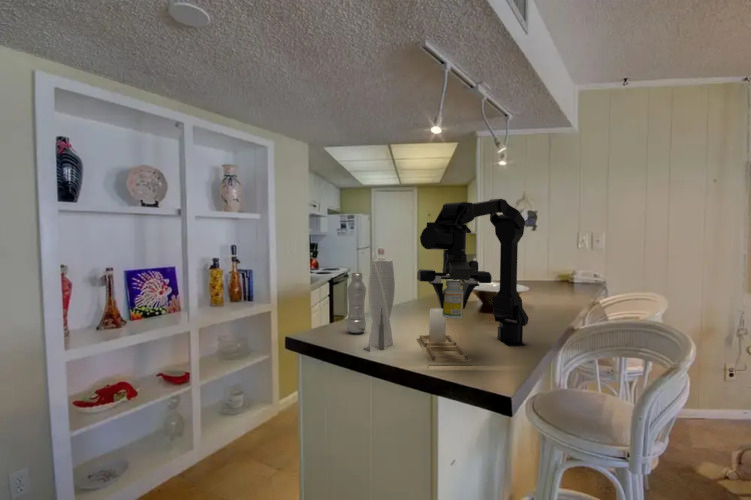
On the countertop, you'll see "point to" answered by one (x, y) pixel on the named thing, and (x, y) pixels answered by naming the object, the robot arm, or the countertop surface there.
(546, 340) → the countertop surface
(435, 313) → the white rounded rod
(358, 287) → the plastic bottle
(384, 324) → the skyscraper
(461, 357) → the caddy
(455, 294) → the supplement bottle
